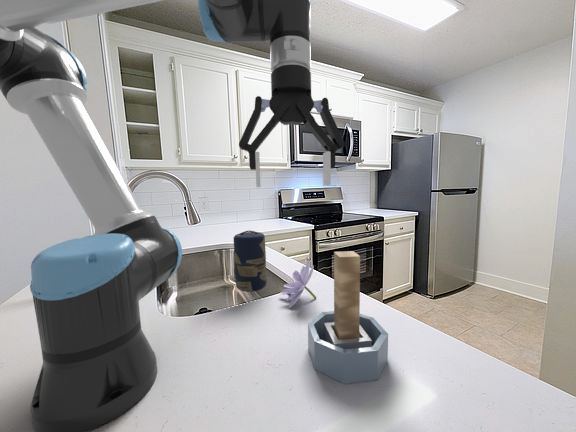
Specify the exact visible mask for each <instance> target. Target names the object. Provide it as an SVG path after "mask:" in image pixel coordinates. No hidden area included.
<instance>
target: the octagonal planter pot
mask: <svg viewBox="0 0 576 432" xmlns="http://www.w3.org/2000/svg"><path fill="white" fill-rule="evenodd" d="M307 339H308V340H307V348H308V352H309V354H310V355H309V356H310V358H311V361H312V365H313V369H314V370H317V371H318V372H319V373H322V374H323V375H326V376H328V377H329V378H332V379H333V380H336V381H337V382H340V383H341V384H343V385H347V384H356V383H364V382H365V383H366V382H372V381H378V380H379V378H380V376H381V374H382V373H383V371H384V369H385V366H386V365H387V362H388V360H389V359H388V357H389V355H388V354H389V333H388V332H387V331H386V330H385V329H384V327H383V326H382V325H381V324H380V323H379V322H378V321H377V319H376V318H375V317H372V316H369V315H366V314H363V313H360V320H359V338H353V339H343V340H338V338H337V337H336V335H335V333H334V310H332V311H330V310H329V311H322V312H321V313H319V314H318V315H317V316H316V317H314V318H313V319H312V320H311V321H309V322H308V323H307Z"/></svg>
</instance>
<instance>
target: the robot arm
mask: <svg viewBox="0 0 576 432" xmlns="http://www.w3.org/2000/svg"><path fill="white" fill-rule="evenodd" d="M163 1H165V0H0V92H1V93H2V95H3V96H4V98H5V99H6V102H7V103H8V104H9V106H10V108H12V109H13V110H15V111H17V112H19V113H21V114H23V115H26V116H28V118H29V119H30V122H31V123H32V124H33V126H34V129H35V130H36V131H37V133H38V135H39V136H40V139H42V142H43V143H44V145H45V147H46V149H47V150H48V151H49V154H50V155H51V158H53V160H54V162H55V164H56V165H57V167H58V168H59V170H60V172H61V174H62V175H63V177H64V179H65V181H66V182H67V184H68V186H69V187H70V189H71V190H72V192H73V194H74V195H75V197H76V199H77V202H79V204H80V206H81V207H82V209H83V210H84V212H85V214H86V217H87V218H88V219H89V221H90V222H91V225H93V228H94V233H93V235H92V234H91V235H87V236H84V237H81V238H72V239H68V240H65V241H62V242H60V243H56V244H54V245H51V246H49V247H47V248H44V249H43V250H42V251H40V252H39V253H38V254H36V256H35V257H33V260H32V261H31V263H30V272H31V280H30V285H29V289H30V293H31V295H32V298H33V299H32V300H33V305H34V310H35V311H34V312H35V316H36V318H35V319H36V324H37V329H38V335H39V336H38V337H39V341H40V348H41V349H40V350H41V356H42V365H41V369H40V371H39V375H38V379H37V382H36V385H35V389H34V392H33V396H32V397H33V398H32V400H31V403H30V417H31V422H32V424H31V425H32V428H33V429H34V432H89V431H91V430H94V429H96V428H99V427H101V426H103V425H105V424H108V423H109V422H111V421H113V420H114V419H116V418H117V417H119V416H121V415H123V414H124V413H126V412H127V411H128V410H130V409H131V408H132V407H134V406H135V405H136V404H137V403H138V402H139V401H140V400H141V399H142V398H144V396H145V395H146V394H147V393H148V392H149V391H150V389H151V388H152V386H153V384H154V383H155V380H156V378H157V374H158V363H157V356H156V353H155V352H154V350H153V348H152V346H151V344H150V342H149V340H148V339H147V337H146V335H145V334H144V333H145V332H143V330H142V323H141V312H140V310H141V309H140V300H141V299H143V298H144V297H146V296H147V295H148V294H149V293H151V292H152V291H153V290H155V289H156V288H157V287H158V286H160V285H161V284H163V283H165V282H167V281H168V280H169V279H170V278H171V277H172V276H173V274H174V273H175V272H176V271H177V270H178V269H179V267H180V264H181V262H182V258H183V248H182V244H181V242H180V239H179V238H178V237H177V235H176V234H175V233H173V232H172V231H171V230H169V229H167V228H164V227H162V225H160V223H159V221H158V219H157V218H156V216H155V214H153V213H150V212H147V211H144V210H143V209H142V208H141V206H140V204H139V202H138V200H137V198H136V196H135V195H134V193H133V191H132V189H131V188H130V186H129V184H128V182H127V181H126V179H125V177H124V175H123V174H122V171H121V170H120V168H119V166H118V165H117V163H116V161H115V159H114V158H113V156H112V154H111V152H110V151H109V149H108V147H107V145H106V143H105V142H104V140H103V139H102V137H101V135H100V133H99V131H98V130H97V127H96V125H95V124H94V122H93V121H92V119H91V117H90V114H89V113H88V112H87V110H86V108H85V106H84V105H85V104H86V102H87V100H88V96H87V95H88V94H87V87H86V84H88V77H87V74H86V70H85V69H84V66H83V65H82V63H81V61H80V60H79V59H78V57H77V56H76V55H75V54H74V53H73V52H72V51H70V50H69V49H68V48H66V47H65V45H64V44H62V43H61V42H59V41H58V40H57V39H55V37H52V36H50V35H48V34H47V33H43V32H42V31H41V30H39V29H38V28H36V27H40V26H45V25H50V24H51V25H52V24H54V23H55V24H56V23H61V22H65V21H70V20H75V19H81V18H86V17H90V16H95V15H99V14H100V15H101V14H104V13H109V12H114V11H118V10H119V11H120V10H125V9H129V8H133V7H138V6H139V7H140V6H143V5H144V6H145V5H149V4H153V3H158V2H163ZM197 5H198V6H197V7H198V13H199V19H200V23H201V25H202V29H203V30H202V31H203V32H204V35H205V36H206V38H207V39H208V40H209V41H211V42H216V43H226V44H233V43H252V42H257V43H258V42H262V43H264V42H269V46H270V47H269V48H270V49H269V51H270V54H269V55H270V72H271V74H270V85H271V88H270V90H271V97H270V99H267V98H262V96H260V95H257V96H256V97H254V109H253V111H252V114H251V115H250V118H249V120H248V122H247V124H246V126H245V128H244V132H243V133H242V135H241V138H240V140H239V142H238V146H239V148H240V151H241V150H242V151H245V152H247V153H248V159H249V160H248V161H249V169H250V170H252V171H253V170H254V171H255V182H256V185H255V186H256V188H261V162H260V151H257V150H258V149H259V148H260V147H261V145H262V144H263V142H265V140H266V139H267V138H268V136H269V135H270V134H271V133H272V131H273V130H274V129H275V128H276V127H277V126H278V124H279V123H280V124H282V125H283V126H288V125H294V126H300V125H301V124H303V125H304V127H306V128H307V129H308V130H309V131H310V132H311V134H312V135H313V136H314V137H315V138H316V140H317V142H318V143H320V145H321V146H322V148H323V149H325V151H324V152H323V153H322V180H323V181H322V183H323V184H322V186H324V187H327V186H332V184H331V180H332V179H331V175H332V174H331V173H332V171H331V170H333V169H335V167H336V152H337V151H338V150H341V149H342V148H345V146H346V143H345V141H344V138H343V137H342V134H341V131H340V130H339V128H338V125H337V124H336V121H335V120H334V119H335V118H334V117H333V115H332V113H331V110H330V104H329V99H328V98H327V97H323V98H322V99H321V100H320V99H318V100H314V99H313V97H312V72H311V68H312V60H311V59H312V58H311V57H312V55H311V41H312V38H311V37H312V36H311V33H312V32H311V29H312V28H311V22H312V21H311V14H312V13H311V8H312V7H311V6H312V4H311V0H197ZM267 108H269V109H270V111H271V112H272V113H273V115H272V117H271V118H270V119H269V121H268V122H267V123H266V124H265V126H264V127H263V129H262V130H261V131H260V132H259V133H258V134H257V136H256V137H255V138H254V140H253V141H252V142H251V144H249V142H250V140H251V139H252V138H251V137H252V136H253V132H254V131H255V128H256V127H257V124H258V122H259V120H260V118H261V114H262V113H264V112H266V110H267ZM313 109H315V110H316V112H317V113H319V116H320V118H321V120H322V122H323V125H324V127H325V129H326V130H327V134H326V132H325V131H324V130H323V128H322V127H321V126H320V125H319V123H318V122H317V121H316V119H315V117H314V115H312V113H311V112H312V110H313ZM328 135H329V136H328Z"/></svg>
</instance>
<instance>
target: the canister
mask: <svg viewBox="0 0 576 432" xmlns="http://www.w3.org/2000/svg"><path fill="white" fill-rule="evenodd" d="M233 249H234V250H233V251H234V252H233V253H234V254H233V255H234V272H235V273H234V274H235V287H236V288H237V290H239V291H240V292H245V293H249V292H250V293H252V292H257V291H261V290H262V289H264V288H265V287H266V286H267V262H266V260H267V255H266V252H267V251H266V238H265V234H264V233H262V232H259V231H255V230H245V231H243V232H240V233H237V234H235V235H234V236H233Z"/></svg>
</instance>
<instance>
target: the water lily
mask: <svg viewBox="0 0 576 432" xmlns="http://www.w3.org/2000/svg"><path fill="white" fill-rule="evenodd" d="M310 263H311V262H310V258H308V259H307V261H306V265H305V266H304V265H303V266H302V268H301V269H300V272H299V271H298V270H294V272H292V279H293V281H294V282H292V283H290V282H289V283H285V284H284V285H283V287H285V289H284V288H283V290H282V291H281V292H280V293H279V295H289V296H288V297H287V298H286V300H285V301H290V300H291V301H290V303H289V305H288V309H291V308H292V307H293V306H294V305H295V304H296V303H297V301H298V300H299V299H300V298H301V296H302V294H303V292H304V290H306V291H307V292H308V293H309V295H311V296H312V297H313V299H314V300H316V299H317V296H316V295H315V294H314V293H313V291H311V290H310V288H308V287H307V286H306V285H307V284H308V283H309V281H310V279H311V277H312V275H313V273H314V267H315V265H312V266H311V269H310V265H311V264H310Z"/></svg>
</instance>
